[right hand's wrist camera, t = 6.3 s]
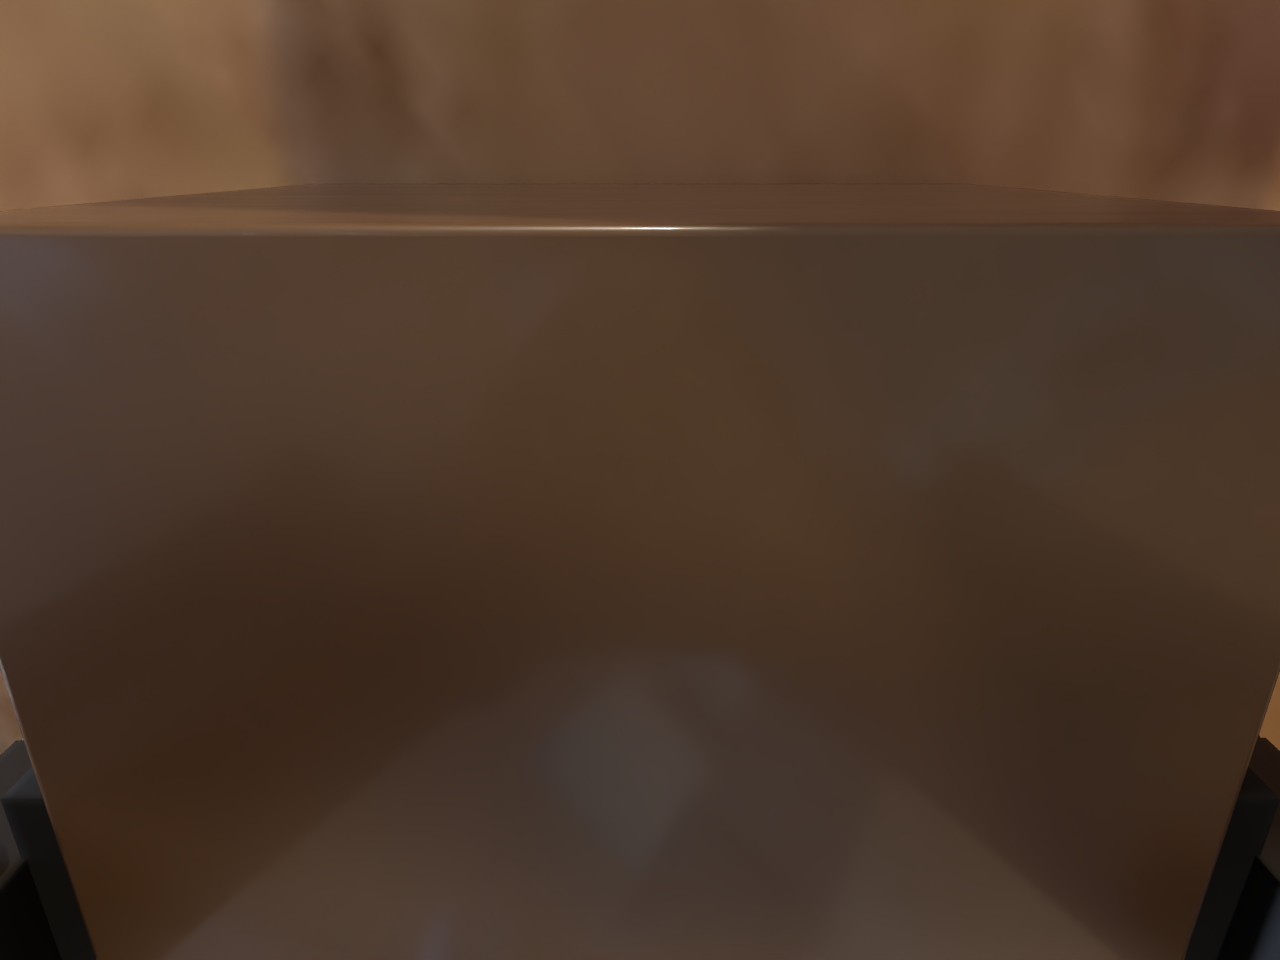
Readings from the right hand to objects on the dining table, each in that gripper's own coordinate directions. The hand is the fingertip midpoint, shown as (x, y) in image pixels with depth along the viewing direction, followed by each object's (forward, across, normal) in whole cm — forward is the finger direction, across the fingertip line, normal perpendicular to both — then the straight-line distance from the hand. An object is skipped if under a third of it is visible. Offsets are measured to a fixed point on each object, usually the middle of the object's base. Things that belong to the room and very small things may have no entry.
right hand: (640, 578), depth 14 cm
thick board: (0, 0, -24) cm, 25 cm away
